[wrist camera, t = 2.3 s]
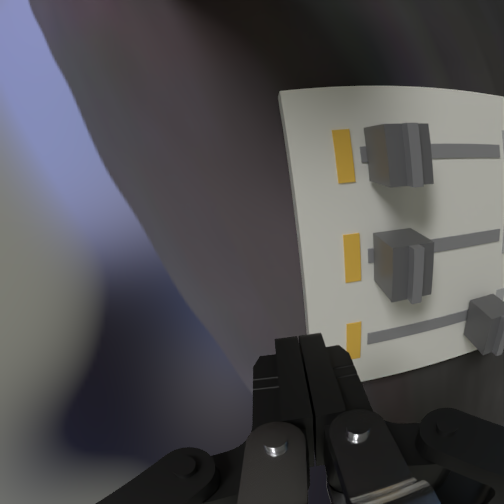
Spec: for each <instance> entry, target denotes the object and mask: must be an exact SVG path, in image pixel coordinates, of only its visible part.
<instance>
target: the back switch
mask: <svg viewBox="0 0 504 504" xmlns="http://www.w3.org/2000/svg"><path fill="white" fill-rule="evenodd" d="M464 335H465V336H466V337H467V338H468V340H469V341H470V342H471V343H472V344H473V345H474V346H475V347H476V348H477V349H478V351H479V352H480V353H481V354H482V355H485V354H488V353H490V352H493V353H494V354H495V355H496V356H498V355H500V354H502V352H503V348H504V302H503V301H502V300H501V299H500V298H498V297H497V296H496V295H494V294H490V295H486V296H483V297H479V298H476V299H472V300H470V303H469V309H468V315H467V320H466V325H465V330H464Z"/></svg>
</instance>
